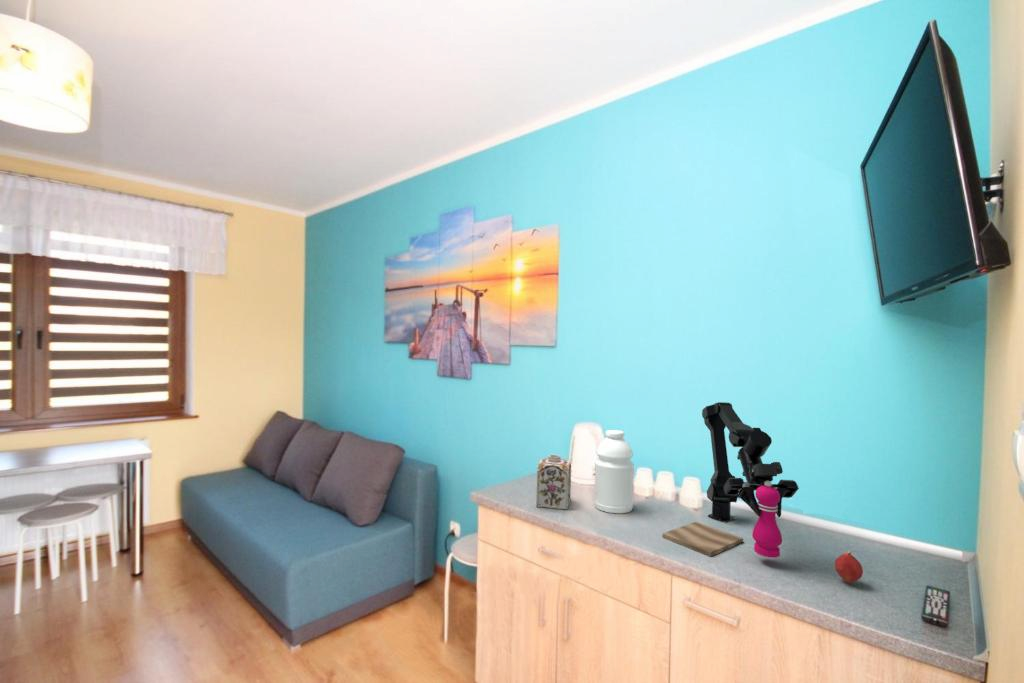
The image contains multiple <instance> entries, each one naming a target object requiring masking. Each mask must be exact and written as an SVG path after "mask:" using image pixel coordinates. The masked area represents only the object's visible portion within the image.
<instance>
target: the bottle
mask: <svg viewBox="0 0 1024 683" xmlns="http://www.w3.org/2000/svg"><path fill="white" fill-rule="evenodd" d="M605 436H606V437H605V438H604V439H603V440H602V441H600V443H599V445H598V447H597V448H596V452H595V453H596V455H597V456H598V458H597V459H596V460H595V462H594V471H595V472H594V507H595V508H597V510H599V511H602V512H604V511H605V512H606V513H609V514H626V513H629V512H631V511H632V510H633V508H634V470H635V469H634V468H635V465H634V463H633V462H632V461H631V458H632V457H633V456H634V453H633V450H632V448H631V446H630V444H629V443H628V442H627V440H626V439H625V438H624V437H625V432H624V431H623V430H618V429H617V430H616V429H608V430H605Z"/></svg>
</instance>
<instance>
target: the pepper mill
mask: <svg viewBox="0 0 1024 683" xmlns="http://www.w3.org/2000/svg"><path fill="white" fill-rule="evenodd" d="M764 484H765V485H764V486H760V487H758V488H757V490H755V498H756V500H757V501H758V502H757V504H758V506H759V509H760V513H761V516H760V517H759V516H758V518H757V519H758V520H757V521H756V523H755V525H754V527H753V529H752V538H753V540H754V544H753V551H754V552H755V553H756V554H758V555H760V556H762V557H765V558H778V557H780V555H781V549H780V547H779V546H780V545H781V544H782V542H783V536H782V534H781V530H780V528H779V525H778V523H777V520H776V518H777V514H776V511H778V509H777V508H778V505H777V503H778V502H779V501H780V494H779V492H778V490H777V489H775V488H774V487H771V485H772V484H773V483H772V481H768V480H767V481H765V482H764Z"/></svg>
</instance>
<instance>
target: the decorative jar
mask: <svg viewBox="0 0 1024 683" xmlns="http://www.w3.org/2000/svg"><path fill="white" fill-rule="evenodd" d="M561 457H562V456H561V455H558V454H549V455H548V456H547V457H544V458H540V460H539V461H538V464H537V465H538V466H537V470H536V507H537V506H539V507H538V508H543V507H550V508H549V509H552V508H560V509H559V510H562V509H567V510H568V508H569V505H570V503H571V502H570V501H571V495H572V494H571V489H572V463H571V461H569V460H567V459H563V458H561Z"/></svg>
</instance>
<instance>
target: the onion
mask: <svg viewBox="0 0 1024 683" xmlns="http://www.w3.org/2000/svg"><path fill="white" fill-rule="evenodd" d="M834 569H835V572H836V573H837V574H838V576H839V577H840V578H842V580H844V582H845V583H847V584H852V583H854V582H856V581H858V580H860V579H861V578H862V576H863V573H864V569H863V565H862V564H861V563H860V561H859V560H858V559H857V558H856V557H855V556H853V554H852V551H847V552H845V553H843V554H841V555H839V556H838V557H837V558H836V559H835V561H834Z"/></svg>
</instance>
